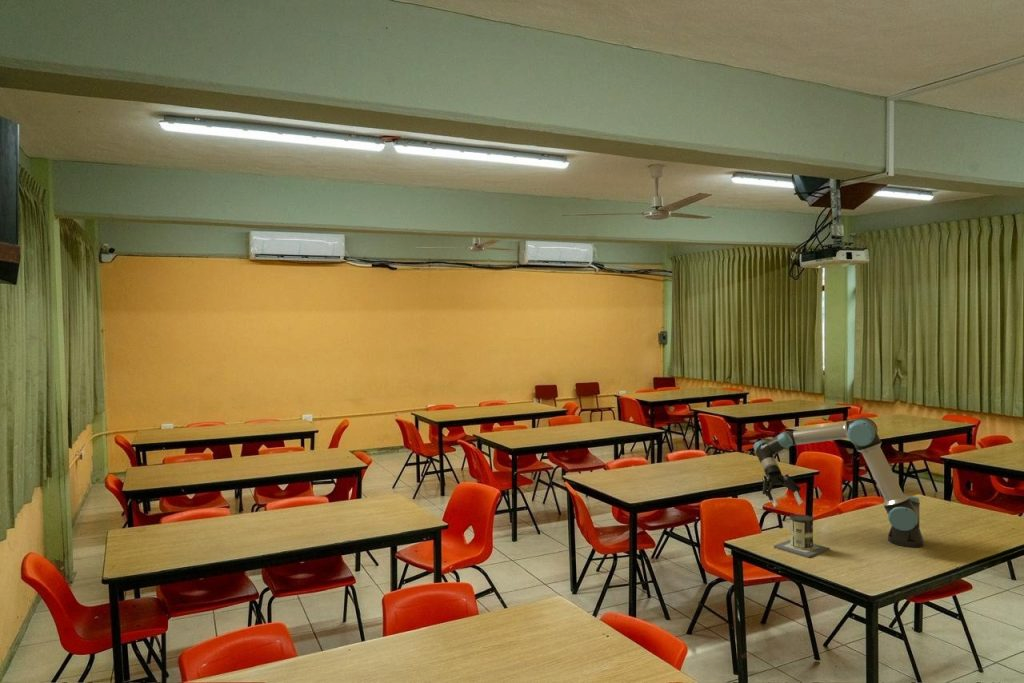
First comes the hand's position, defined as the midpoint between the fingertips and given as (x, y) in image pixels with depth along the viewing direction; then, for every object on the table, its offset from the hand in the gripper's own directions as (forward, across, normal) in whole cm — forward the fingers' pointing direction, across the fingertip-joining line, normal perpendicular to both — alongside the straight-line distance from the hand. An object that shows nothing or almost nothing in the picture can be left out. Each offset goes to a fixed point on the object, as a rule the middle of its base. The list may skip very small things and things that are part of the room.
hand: (788, 504), depth 329 cm
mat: (+20, 0, -6) cm, 21 cm away
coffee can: (+20, 0, -5) cm, 20 cm away
